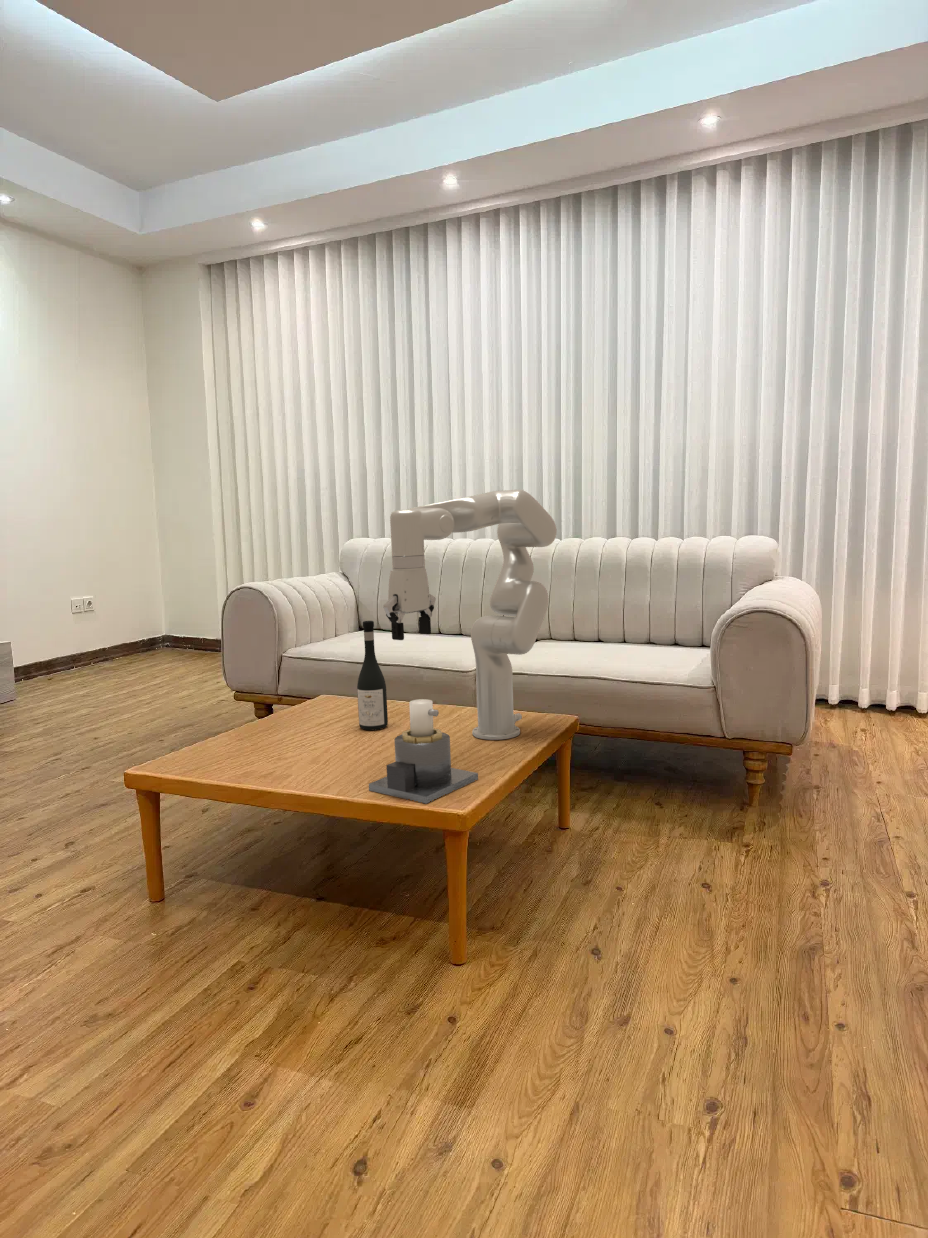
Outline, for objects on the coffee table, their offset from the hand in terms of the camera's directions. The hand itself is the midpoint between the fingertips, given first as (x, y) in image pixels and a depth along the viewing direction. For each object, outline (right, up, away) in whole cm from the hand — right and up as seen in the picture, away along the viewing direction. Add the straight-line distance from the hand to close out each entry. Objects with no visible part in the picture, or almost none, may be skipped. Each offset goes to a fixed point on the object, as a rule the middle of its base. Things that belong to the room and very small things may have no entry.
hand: (411, 636), depth 195 cm
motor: (+4, -32, -13) cm, 35 cm away
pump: (+3, -22, -14) cm, 26 cm away
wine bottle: (-13, -26, +38) cm, 48 cm away
